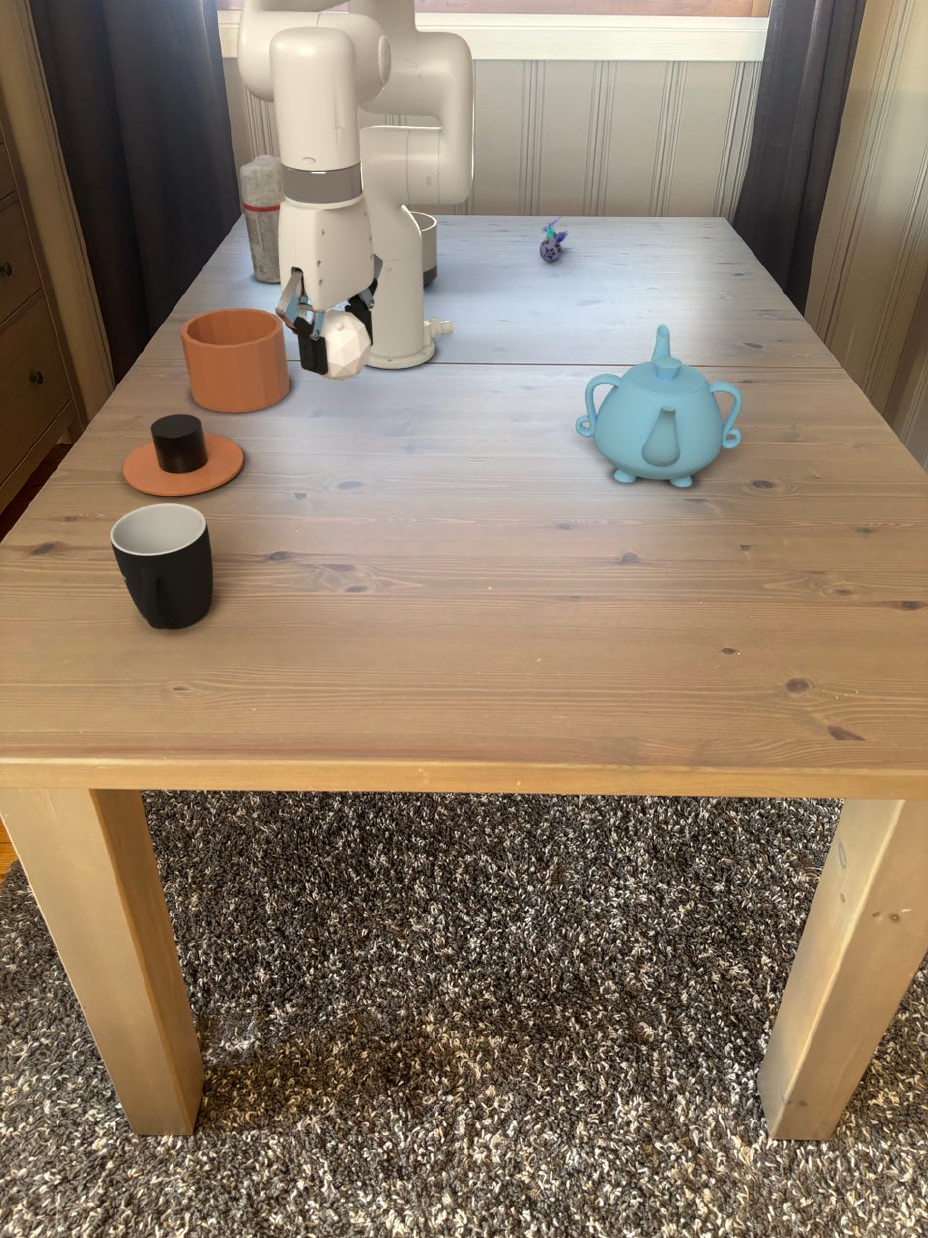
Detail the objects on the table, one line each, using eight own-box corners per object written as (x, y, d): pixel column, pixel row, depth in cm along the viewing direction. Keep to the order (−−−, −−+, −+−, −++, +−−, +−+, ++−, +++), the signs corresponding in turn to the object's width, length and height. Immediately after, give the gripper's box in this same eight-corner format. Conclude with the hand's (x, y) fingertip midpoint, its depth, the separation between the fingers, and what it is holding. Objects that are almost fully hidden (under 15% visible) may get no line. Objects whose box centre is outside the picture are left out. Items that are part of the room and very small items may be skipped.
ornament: (381, 362, 104) (389, 324, 97) (336, 405, 102) (340, 370, 95) (334, 320, 104) (338, 279, 97) (288, 362, 102) (288, 323, 95)
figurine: (536, 221, 184) (531, 243, 175) (563, 207, 181) (559, 228, 172) (551, 251, 187) (546, 274, 178) (578, 238, 185) (574, 260, 176)
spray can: (290, 286, 167) (276, 165, 154) (246, 283, 168) (229, 162, 156) (305, 270, 173) (294, 152, 161) (263, 267, 175) (248, 149, 162)
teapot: (650, 517, 110) (668, 408, 101) (553, 446, 123) (561, 344, 114) (751, 481, 117) (776, 375, 108) (649, 417, 130) (664, 318, 121)
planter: (450, 279, 171) (450, 218, 164) (410, 300, 162) (408, 238, 156) (393, 265, 176) (391, 206, 169) (351, 286, 167) (347, 225, 161)
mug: (143, 584, 99) (122, 502, 93) (229, 583, 100) (213, 501, 93) (115, 660, 90) (89, 575, 84) (209, 658, 90) (190, 574, 84)
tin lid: (224, 431, 125) (217, 389, 122) (259, 482, 116) (253, 437, 112) (113, 456, 120) (101, 413, 116) (140, 512, 110) (128, 466, 106)
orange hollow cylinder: (271, 363, 142) (263, 301, 136) (303, 400, 133) (296, 335, 127) (181, 381, 137) (169, 318, 131) (208, 420, 128) (196, 354, 122)
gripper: (347, 154, 96) (358, 321, 108) (230, 198, 85) (257, 379, 97) (407, 165, 93) (412, 336, 105) (294, 212, 82) (314, 398, 94)
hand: (337, 356), depth 101 cm, fingers closed on ornament, 7 cm apart
